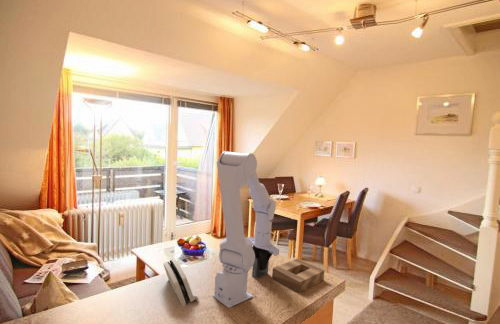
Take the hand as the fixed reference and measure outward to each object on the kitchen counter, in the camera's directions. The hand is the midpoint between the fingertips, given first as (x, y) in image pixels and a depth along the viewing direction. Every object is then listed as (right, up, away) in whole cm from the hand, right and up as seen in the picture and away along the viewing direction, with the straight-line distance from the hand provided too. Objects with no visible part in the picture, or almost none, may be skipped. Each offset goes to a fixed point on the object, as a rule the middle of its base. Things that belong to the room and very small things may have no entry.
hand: (260, 268), depth 99 cm
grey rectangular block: (0, -2, 0) cm, 2 cm away
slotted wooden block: (+13, -3, -1) cm, 14 cm away
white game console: (-26, -2, -13) cm, 29 cm away
